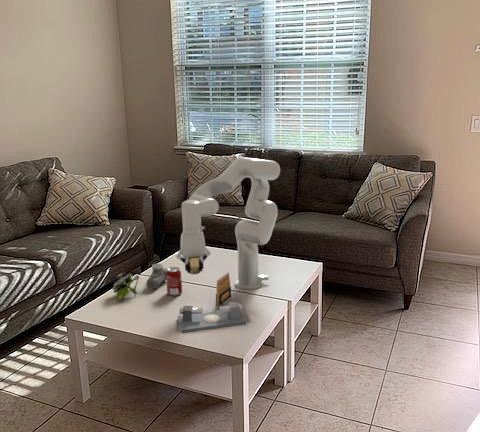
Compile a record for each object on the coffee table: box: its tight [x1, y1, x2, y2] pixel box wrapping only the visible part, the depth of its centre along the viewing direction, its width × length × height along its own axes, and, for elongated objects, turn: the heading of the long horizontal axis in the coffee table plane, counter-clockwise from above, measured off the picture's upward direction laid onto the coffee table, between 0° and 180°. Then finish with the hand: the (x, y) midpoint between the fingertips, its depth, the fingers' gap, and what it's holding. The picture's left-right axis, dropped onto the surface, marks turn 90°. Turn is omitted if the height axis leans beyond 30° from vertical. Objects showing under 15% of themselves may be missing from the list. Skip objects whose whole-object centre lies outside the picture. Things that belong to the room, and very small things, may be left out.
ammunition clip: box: [215, 272, 232, 307], centre depth 223 cm, size 11×2×12 cm, turn 152°
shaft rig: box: [177, 301, 247, 334], centre depth 205 cm, size 26×12×6 cm, turn 104°
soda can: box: [166, 266, 183, 297], centre depth 232 cm, size 7×7×12 cm
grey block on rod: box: [179, 305, 204, 322], centre depth 205 cm, size 9×4×5 cm, turn 89°
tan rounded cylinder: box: [188, 256, 201, 275], centre depth 214 cm, size 5×5×7 cm
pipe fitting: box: [146, 263, 168, 290], centre depth 242 cm, size 12×8×10 cm, turn 163°
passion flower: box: [111, 272, 140, 301], centre depth 231 cm, size 13×12×14 cm
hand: (194, 270), depth 215 cm, fingers closed on tan rounded cylinder, 4 cm apart
